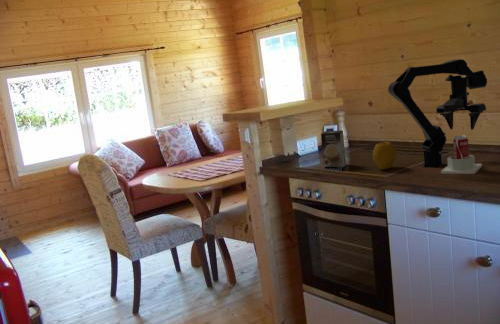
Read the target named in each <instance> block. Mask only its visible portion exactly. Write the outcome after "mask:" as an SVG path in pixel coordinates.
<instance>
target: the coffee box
mask: <svg viewBox="0 0 500 324" xmlns="http://www.w3.org/2000/svg"><path fill="white" fill-rule="evenodd" d="M320 139H321V147H322V155H323V156H322V157H323V166H324V167H337V168H345V166H346V165H347V159H346V148H345V139H344V131H343V130H329V131H327V130H326V131H323V132H321V133H320Z"/></svg>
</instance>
